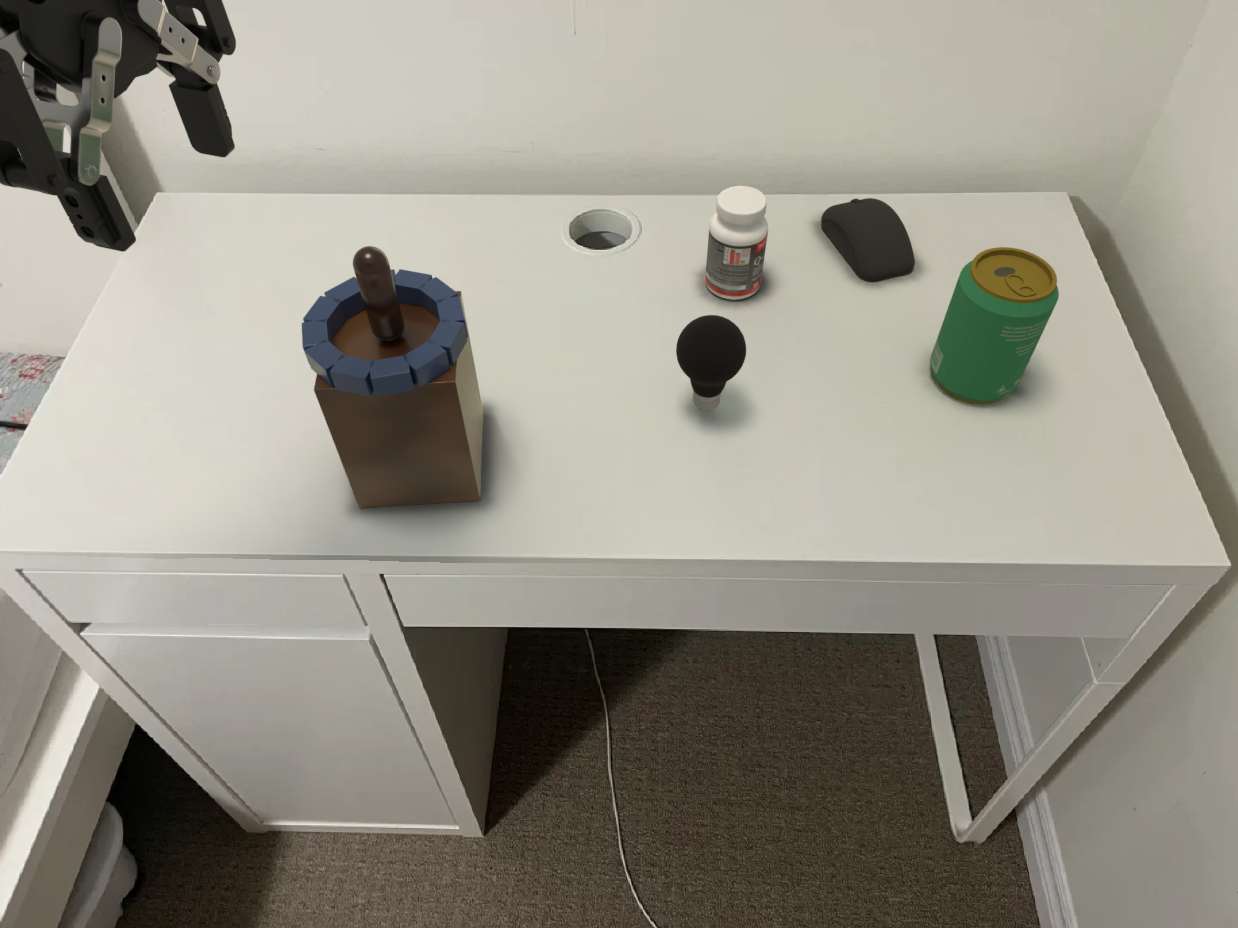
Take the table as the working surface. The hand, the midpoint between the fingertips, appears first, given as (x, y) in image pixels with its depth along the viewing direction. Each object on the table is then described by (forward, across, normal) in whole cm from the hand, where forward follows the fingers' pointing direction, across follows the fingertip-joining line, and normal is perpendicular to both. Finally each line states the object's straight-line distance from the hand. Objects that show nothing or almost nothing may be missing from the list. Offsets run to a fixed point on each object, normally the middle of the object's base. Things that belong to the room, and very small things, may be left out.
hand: (167, 196), depth 46 cm
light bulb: (+33, -25, +25) cm, 48 cm away
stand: (+33, -12, +3) cm, 36 cm away
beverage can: (+32, -36, +48) cm, 68 cm away
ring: (+19, -12, +2) cm, 23 cm away
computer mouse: (+32, -53, +36) cm, 71 cm away
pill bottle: (+32, -43, +24) cm, 59 cm away
